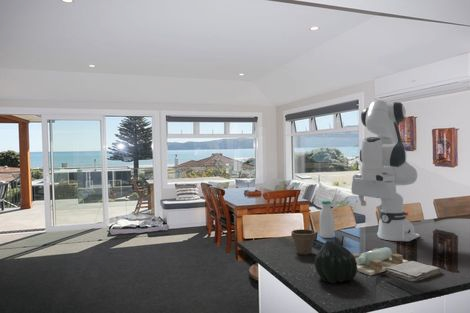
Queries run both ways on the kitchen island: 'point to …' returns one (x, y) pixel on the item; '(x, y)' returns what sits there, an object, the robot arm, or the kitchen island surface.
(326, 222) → the milk bottle
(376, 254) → the ceramic bottle
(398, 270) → the washcloth
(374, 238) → the kitchen island surface
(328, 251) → the squash
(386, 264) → the board
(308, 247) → the flower pot
